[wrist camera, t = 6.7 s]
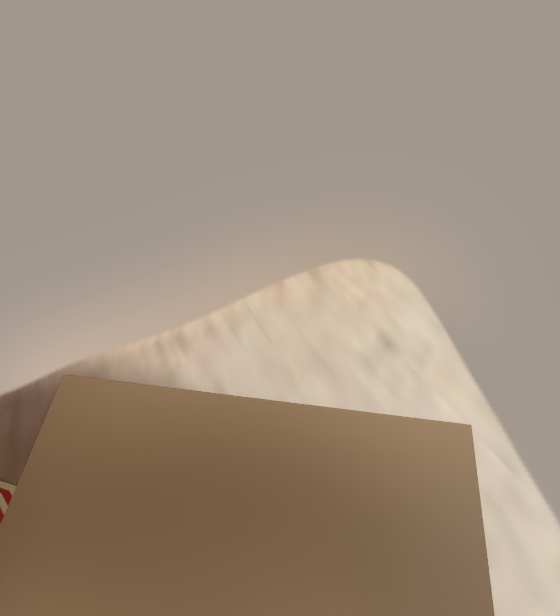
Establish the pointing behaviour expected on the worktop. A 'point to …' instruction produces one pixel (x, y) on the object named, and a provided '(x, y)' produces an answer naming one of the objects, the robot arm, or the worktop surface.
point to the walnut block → (240, 510)
